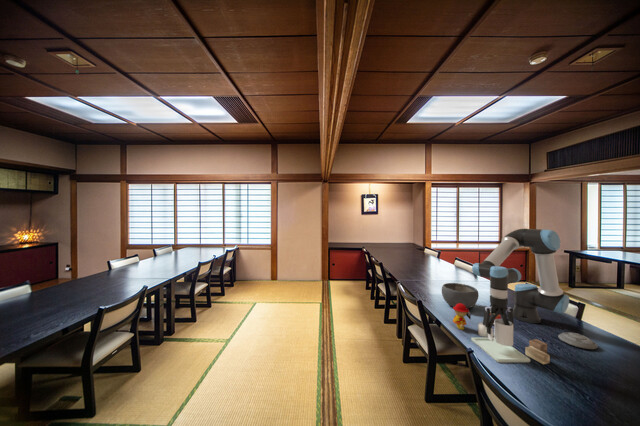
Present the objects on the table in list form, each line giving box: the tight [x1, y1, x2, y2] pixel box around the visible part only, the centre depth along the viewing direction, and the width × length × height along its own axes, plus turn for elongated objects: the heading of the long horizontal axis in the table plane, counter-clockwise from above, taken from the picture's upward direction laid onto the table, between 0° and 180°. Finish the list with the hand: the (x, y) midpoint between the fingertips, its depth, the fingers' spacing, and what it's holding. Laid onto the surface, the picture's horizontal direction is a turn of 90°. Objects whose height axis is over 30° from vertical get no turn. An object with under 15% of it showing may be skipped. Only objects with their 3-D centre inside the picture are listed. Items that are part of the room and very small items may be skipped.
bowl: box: [441, 282, 480, 309], centre depth 185 cm, size 24×24×15 cm
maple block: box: [524, 345, 551, 365], centre depth 119 cm, size 4×8×4 cm, turn 15°
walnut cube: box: [528, 338, 548, 354], centre depth 125 cm, size 5×5×5 cm
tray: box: [470, 337, 531, 363], centre depth 126 cm, size 16×20×2 cm
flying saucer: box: [557, 331, 598, 350], centre depth 133 cm, size 15×15×6 cm
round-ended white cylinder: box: [477, 322, 488, 338], centre depth 142 cm, size 5×5×6 cm
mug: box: [485, 318, 514, 347], centre depth 126 cm, size 12×8×10 cm, turn 62°
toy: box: [452, 303, 472, 331], centre depth 151 cm, size 11×9×15 cm
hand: (498, 339), depth 126 cm, fingers closed on mug, 7 cm apart
